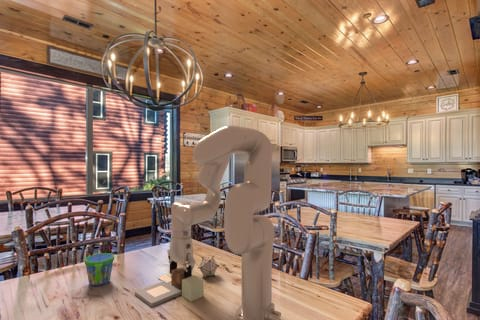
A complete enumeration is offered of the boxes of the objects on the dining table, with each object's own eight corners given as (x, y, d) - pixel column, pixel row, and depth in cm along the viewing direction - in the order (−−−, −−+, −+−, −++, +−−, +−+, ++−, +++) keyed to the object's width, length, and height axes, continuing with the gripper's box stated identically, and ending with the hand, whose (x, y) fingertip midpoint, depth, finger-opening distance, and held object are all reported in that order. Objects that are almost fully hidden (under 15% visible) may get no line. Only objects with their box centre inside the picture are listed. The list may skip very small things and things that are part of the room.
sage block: (203, 296, 99) (203, 279, 99) (191, 301, 95) (191, 284, 95) (194, 291, 103) (194, 275, 103) (181, 296, 99) (181, 279, 99)
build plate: (181, 294, 100) (181, 290, 100) (151, 307, 91) (151, 303, 91) (164, 284, 108) (164, 280, 108) (134, 294, 100) (134, 291, 100)
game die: (211, 286, 114) (214, 273, 109) (193, 277, 116) (195, 263, 110) (220, 269, 122) (223, 255, 116) (203, 260, 123) (205, 247, 117)
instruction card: (187, 275, 116) (187, 274, 116) (166, 283, 109) (166, 282, 109) (178, 271, 121) (178, 270, 121) (157, 278, 113) (157, 277, 113)
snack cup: (111, 289, 104) (111, 262, 104) (79, 293, 101) (79, 266, 101) (116, 273, 119) (116, 249, 119) (89, 276, 115) (89, 252, 115)
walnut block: (191, 285, 107) (191, 270, 107) (179, 290, 103) (179, 274, 103) (183, 281, 111) (183, 266, 111) (171, 285, 107) (171, 270, 107)
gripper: (202, 236, 104) (201, 280, 104) (176, 227, 116) (176, 267, 116) (186, 240, 99) (185, 287, 99) (160, 230, 110) (160, 272, 111)
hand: (180, 276), depth 107 cm, fingers open, 9 cm apart
